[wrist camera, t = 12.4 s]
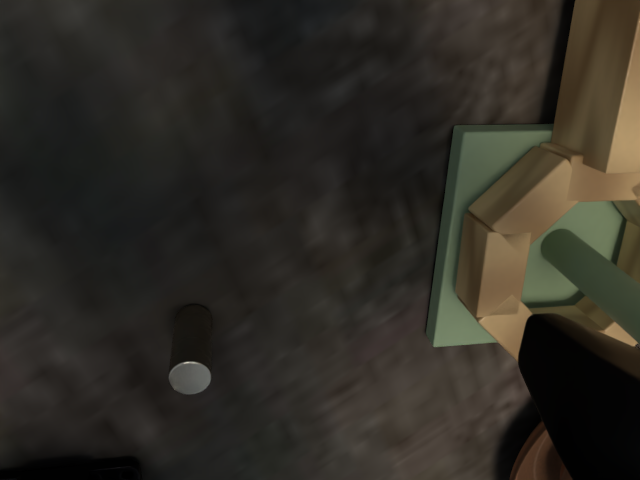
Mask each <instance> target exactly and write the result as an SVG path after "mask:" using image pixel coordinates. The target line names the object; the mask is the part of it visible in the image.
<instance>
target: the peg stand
mask: <svg viewBox="0 0 640 480" xmlns="http://www.w3.org/2000/svg"><path fill="white" fill-rule="evenodd" d="M553 126H554V124H513V125H456V126H454V129H453V137H452V144H451V151H450V159H449V166H448V174H447V181H446V188H445V196H444V203H443V211H442V218H441V225H440V233H439V240H438V248H437V255H436V262H435V270H434V277H433V284H432V292H431V299H430V307H429V314H428V321H427V329H426V335H427V337H428V339H429V340H430V342H431V344H432V346H433V347H443V346H456V345H468V344H481V343H494V342H497V341H496V340H495V339H494V338H493V337H492V336H491V335H490V334H489V333H488V332H487V331H486V330H485V329H484V328H483V327H482V326H481V325H480V324H479V323H478V322H477V321H476V320H475V318H474V317H473V316H472V315H471V314H470V312H469V311H468V310H467V309H466V308H465V306H464V305H463V304H462V303H461V302H460V300H459V299H458V298H457V296H458V295H457V294H456V292H455V289H456V280H457V272H458V264H459V255H460V247H461V238H462V230H463V222H464V214H465V213H471V212H470V211H469V209H468V208H469V206H471V205H472V204H473V203H474V202H475V201H476V200H477V199H478V198H479V197H480V196H481V195H482V194H483V193H485V192H486V191H487V190H488V189H489V188H490V187H491V186H492V185H493V184H494V183H495V182H496V181H497V180H499V179H500V178H501V177H502V176H503V175H504V174H505V173H506V172H507V171H508V170H509V169H510V168H511V167H513V166H514V165H515V164H516V163H517V162H518V161H519V160H520V159H521V158H522V157H523V156H524V155H525V154H527V153H528V152H529V151H530V150H531V149H532V148H533V147H535V146H537V147H540V144H541V143H551V138H552V132H553ZM626 223H627V220H626V218H625V217H624V216H623V214H622V213H621V212H620V210H619V209H618V208H617V206H616V205H615V204H614V202H613V201H597V202H578V203H577V204H576V205H575V206H573V207H572V208H571V209H570V210H569V211H568V212H567V213H566V214H565V215H563V216H562V217H561V218H560V219H559V220H558V221H557V222H556V223H554V224H553V225H552V226H551V227H550V228H549V229H548V230H547V231H546V232H544V233H543V234H542V235H541V236H540V237H539V238H538V239H537V240H535V241H534V242H533V243H532V244H531V245H530V249H529V255H528V261H527V267H526V273H525V279H524V285H523V291H522V296H521V301H522V302H523V303H524V304H525V305H526V306H527V308H528V309H529V308H544V307H558V306H573V305H575V304H576V303H578V302H579V301H580V300H581V299H582V298H583V297H585V296H587V297H588V298H589V299H590V300H591V301H593V302H594V303H595V304H596V305H597V306H598V307H599V308H600V309H601V310H602V311H604V312H605V313H606V314H607V315H608V316H609V317H610V318H611V319H612V320H614V321H615V322H616V323H617V324H618V325H619V326H620V327H621V328H622V329H623V330H625V331H626V332H627V333H628V334H629V335H630V336H631V337H632V338H633V339H634V340H636V341H637V342H638V343H639V344H640V284H639V283H638V282H637V281H636V280H634V279H633V278H632V277H630V276H629V275H628V274H626V273H625V272H624V271H622V270H621V269H620V268H618V267H617V261H618V257H619V253H620V249H621V244H622V240H623V236H624V231H625V227H626Z"/></svg>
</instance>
